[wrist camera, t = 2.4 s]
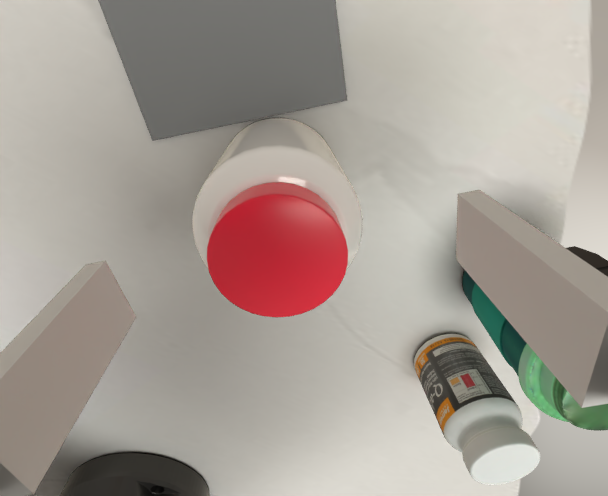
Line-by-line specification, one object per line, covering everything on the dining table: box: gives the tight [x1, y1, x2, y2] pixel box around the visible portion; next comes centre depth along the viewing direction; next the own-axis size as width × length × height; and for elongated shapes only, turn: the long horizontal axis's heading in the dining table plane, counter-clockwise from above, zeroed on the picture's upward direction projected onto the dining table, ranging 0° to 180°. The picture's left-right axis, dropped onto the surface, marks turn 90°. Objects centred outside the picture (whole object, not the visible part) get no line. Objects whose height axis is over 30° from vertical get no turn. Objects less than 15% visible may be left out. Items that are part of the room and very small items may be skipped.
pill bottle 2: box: [414, 334, 540, 485], centre depth 27 cm, size 6×6×10 cm
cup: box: [463, 271, 608, 430], centre depth 22 cm, size 8×8×12 cm
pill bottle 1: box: [192, 118, 363, 317], centre depth 18 cm, size 8×8×11 cm
